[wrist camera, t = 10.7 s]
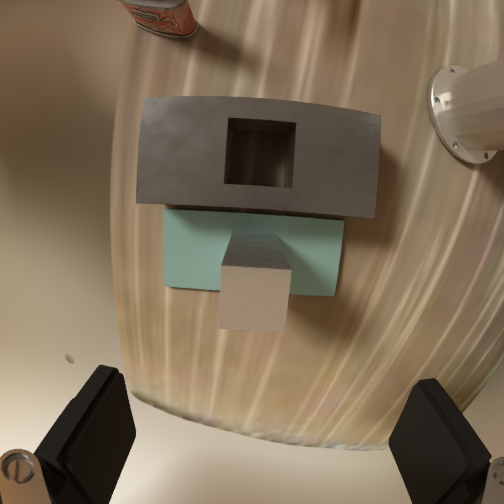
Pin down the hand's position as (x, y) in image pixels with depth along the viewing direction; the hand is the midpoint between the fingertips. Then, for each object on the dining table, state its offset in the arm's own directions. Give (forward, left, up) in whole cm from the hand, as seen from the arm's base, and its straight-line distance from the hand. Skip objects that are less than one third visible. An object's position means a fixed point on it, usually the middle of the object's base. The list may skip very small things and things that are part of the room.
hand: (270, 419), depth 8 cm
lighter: (+11, -25, -24) cm, 36 cm away
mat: (0, 0, -23) cm, 23 cm away
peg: (0, 0, -23) cm, 23 cm away
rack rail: (0, -9, -23) cm, 25 cm away
